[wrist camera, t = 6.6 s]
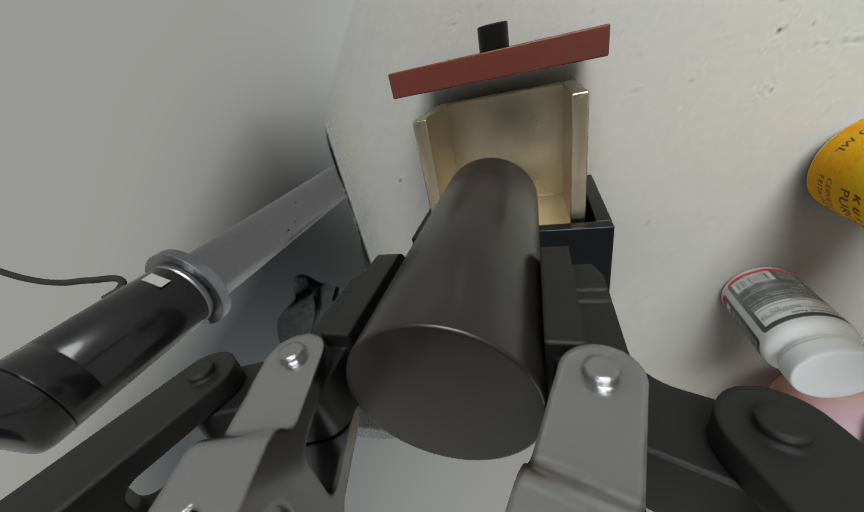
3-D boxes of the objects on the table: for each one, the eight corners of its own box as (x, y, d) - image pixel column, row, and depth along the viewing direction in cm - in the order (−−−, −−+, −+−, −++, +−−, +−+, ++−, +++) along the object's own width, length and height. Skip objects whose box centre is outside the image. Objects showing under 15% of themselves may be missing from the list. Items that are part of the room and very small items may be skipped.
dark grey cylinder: (453, 244, 16) (375, 448, 8) (438, 163, 14) (315, 323, 6) (539, 239, 15) (551, 474, 7) (535, 150, 13) (545, 327, 5)
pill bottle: (778, 316, 27) (863, 410, 20) (710, 309, 28) (767, 395, 21) (810, 267, 24) (919, 355, 17) (733, 262, 25) (807, 342, 19)
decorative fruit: (866, 402, 29) (998, 544, 21) (747, 410, 32) (819, 534, 24) (867, 323, 25) (1027, 457, 17) (733, 343, 29) (812, 461, 21)
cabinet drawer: (419, 46, 22) (381, 47, 17) (589, 4, 19) (612, -12, 14) (448, 207, 28) (427, 248, 22) (583, 196, 25) (598, 240, 19)
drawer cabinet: (441, 190, 28) (411, 238, 21) (591, 174, 25) (614, 226, 18) (462, 297, 34) (443, 364, 27) (586, 298, 30) (602, 374, 23)
